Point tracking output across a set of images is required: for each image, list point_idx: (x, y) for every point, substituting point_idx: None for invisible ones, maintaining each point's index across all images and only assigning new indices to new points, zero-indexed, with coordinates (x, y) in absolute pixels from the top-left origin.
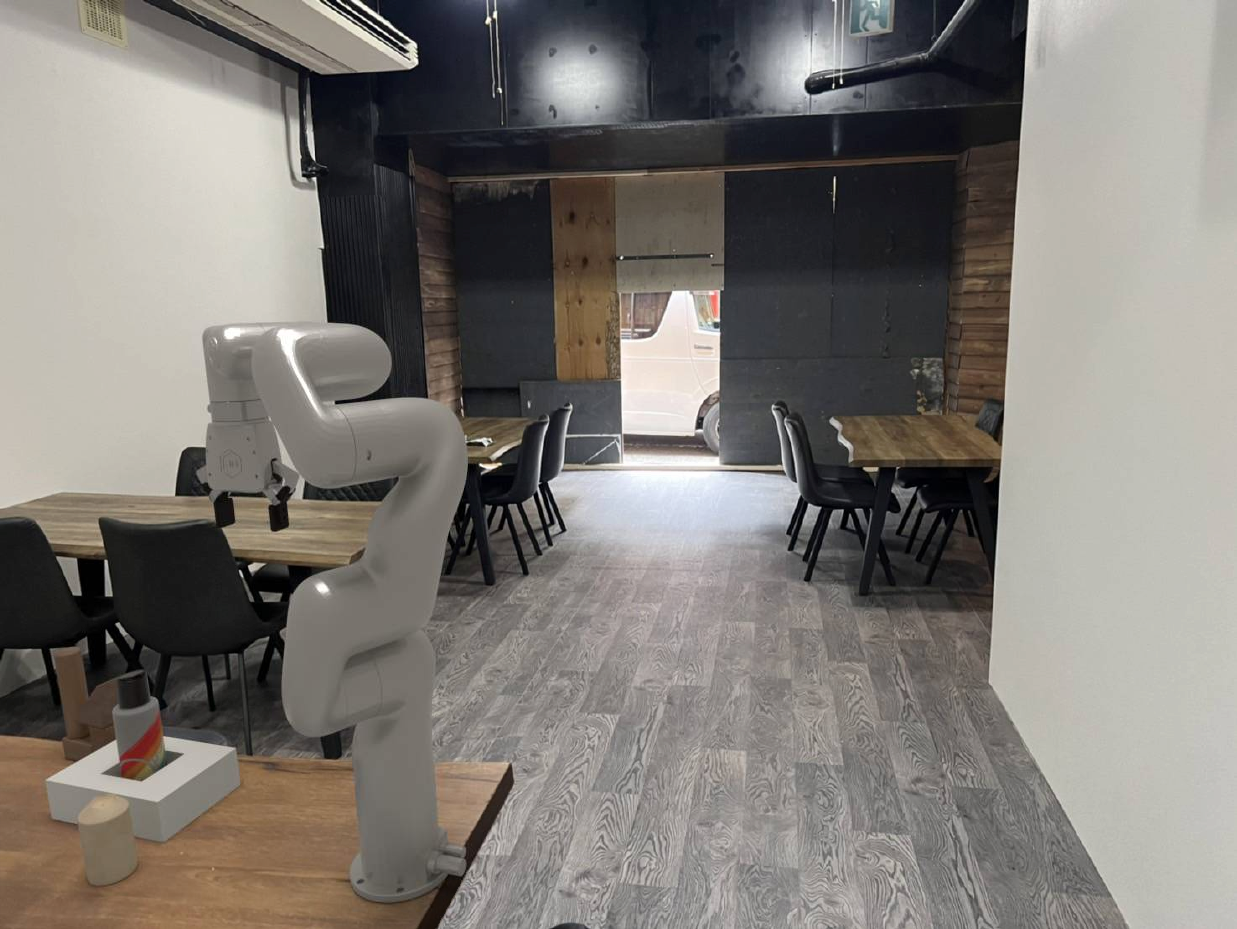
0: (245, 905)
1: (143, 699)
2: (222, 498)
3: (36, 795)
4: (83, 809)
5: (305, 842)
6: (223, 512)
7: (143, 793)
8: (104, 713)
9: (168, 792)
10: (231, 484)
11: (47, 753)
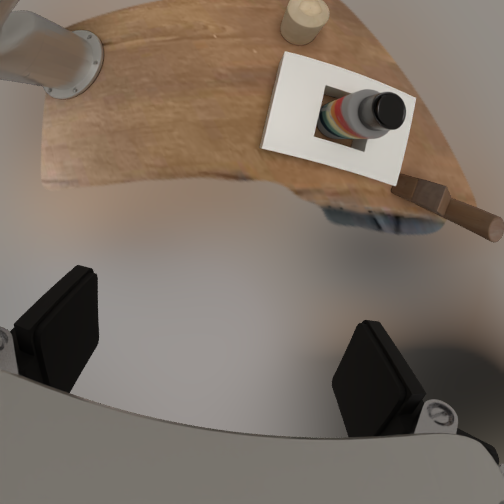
0: (167, 8)
1: (360, 105)
2: (393, 434)
3: (430, 138)
4: (325, 6)
5: (153, 73)
6: (370, 379)
7: (309, 64)
8: (426, 184)
9: (284, 65)
10: (266, 491)
11: None
